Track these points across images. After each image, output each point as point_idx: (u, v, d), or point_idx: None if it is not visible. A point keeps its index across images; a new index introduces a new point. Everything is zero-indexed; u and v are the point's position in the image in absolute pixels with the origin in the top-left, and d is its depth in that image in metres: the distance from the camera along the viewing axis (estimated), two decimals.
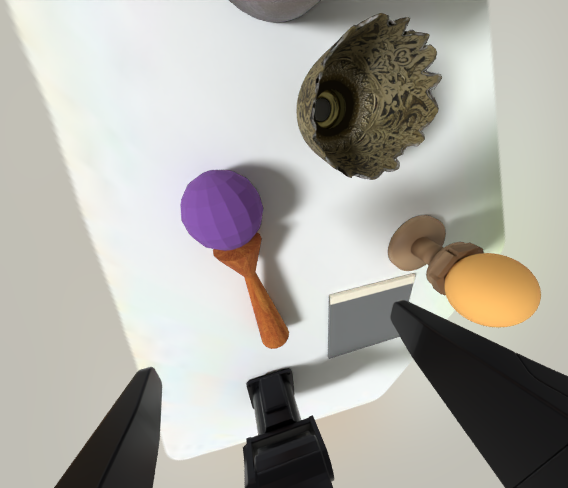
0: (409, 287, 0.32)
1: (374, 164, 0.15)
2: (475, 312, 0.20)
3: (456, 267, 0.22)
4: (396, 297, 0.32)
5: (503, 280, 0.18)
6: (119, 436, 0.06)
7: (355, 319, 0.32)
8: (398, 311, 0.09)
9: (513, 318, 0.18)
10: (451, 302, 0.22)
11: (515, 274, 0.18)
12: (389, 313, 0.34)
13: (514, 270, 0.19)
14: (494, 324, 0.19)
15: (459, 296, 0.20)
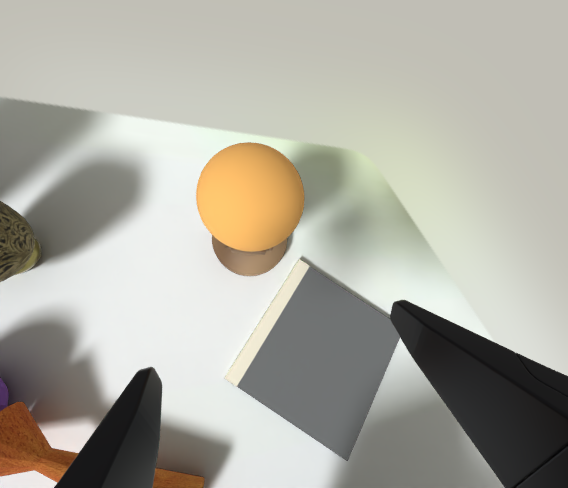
0: (314, 274, 0.23)
1: None
2: (229, 232, 0.12)
3: None
4: (314, 297, 0.22)
5: (199, 181, 0.13)
6: (119, 436, 0.06)
7: (301, 370, 0.21)
8: (398, 311, 0.09)
9: (243, 191, 0.11)
10: (238, 249, 0.14)
11: (206, 164, 0.13)
12: (337, 319, 0.22)
13: None
14: (256, 217, 0.12)
15: (217, 238, 0.14)
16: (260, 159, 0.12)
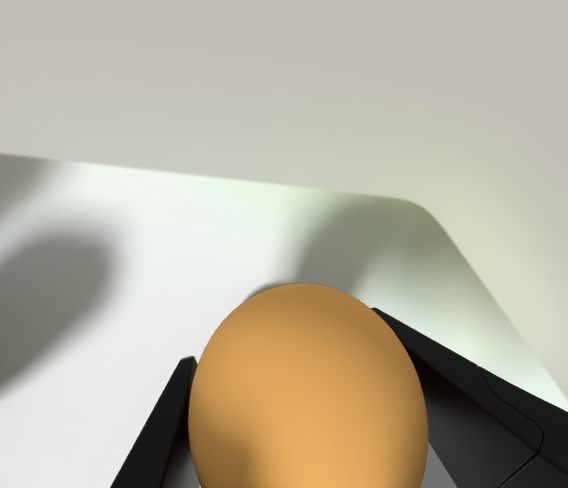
0: None
1: None
2: None
3: None
4: None
5: (194, 409, 0.05)
6: (175, 418, 0.06)
7: None
8: None
9: None
10: None
11: (209, 360, 0.06)
12: None
13: (211, 348, 0.06)
14: None
15: None
16: (356, 399, 0.04)
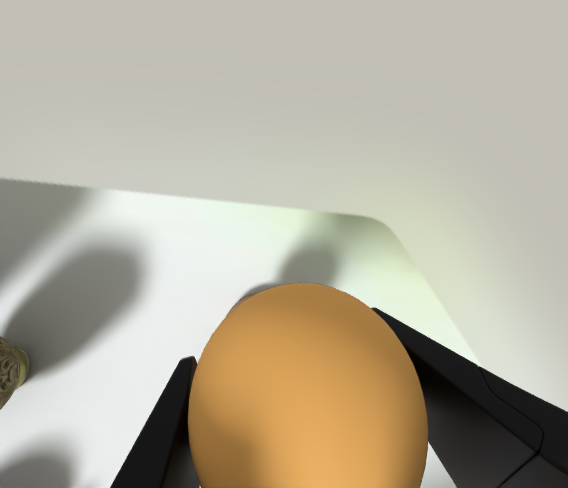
0: None
1: None
2: None
3: None
4: None
5: (193, 408, 0.05)
6: (175, 418, 0.06)
7: None
8: None
9: None
10: None
11: (209, 359, 0.06)
12: None
13: (211, 348, 0.06)
14: None
15: None
16: (356, 398, 0.04)
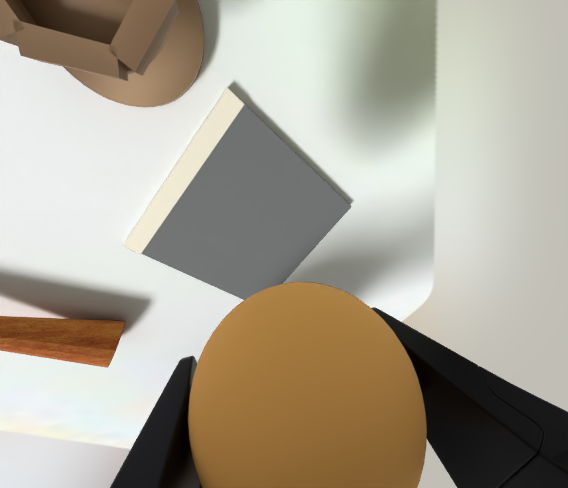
0: (250, 119, 0.14)
1: None
2: None
3: None
4: (247, 157, 0.15)
5: (194, 406, 0.05)
6: (175, 418, 0.06)
7: (221, 241, 0.18)
8: None
9: None
10: None
11: (209, 357, 0.06)
12: (274, 190, 0.17)
13: (211, 346, 0.06)
14: None
15: None
16: (355, 396, 0.04)
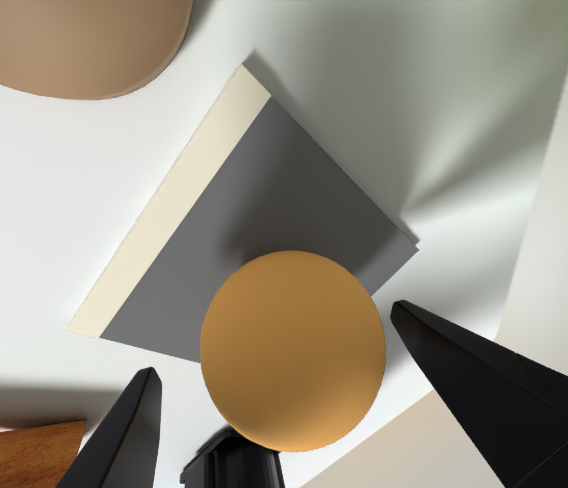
0: (280, 123, 0.08)
1: None
2: (273, 448, 0.06)
3: None
4: (271, 186, 0.09)
5: (206, 343, 0.07)
6: (119, 436, 0.06)
7: None
8: (398, 311, 0.09)
9: (306, 396, 0.06)
10: None
11: (217, 306, 0.07)
12: (311, 234, 0.11)
13: (217, 299, 0.07)
14: (329, 432, 0.06)
15: None
16: (329, 316, 0.06)
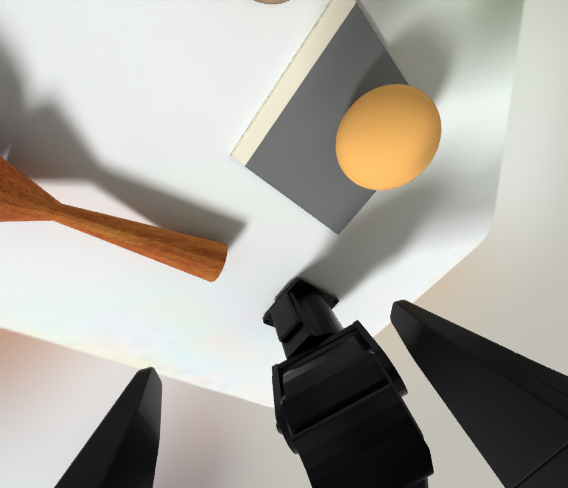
0: (358, 20, 0.15)
1: None
2: (414, 159, 0.14)
3: (347, 171, 0.16)
4: (350, 62, 0.16)
5: (372, 120, 0.13)
6: (119, 436, 0.06)
7: (315, 157, 0.18)
8: (398, 311, 0.09)
9: (430, 116, 0.13)
10: (394, 185, 0.15)
11: (367, 106, 0.14)
12: None
13: (362, 106, 0.14)
14: (436, 140, 0.14)
15: (387, 175, 0.14)
16: (422, 92, 0.14)
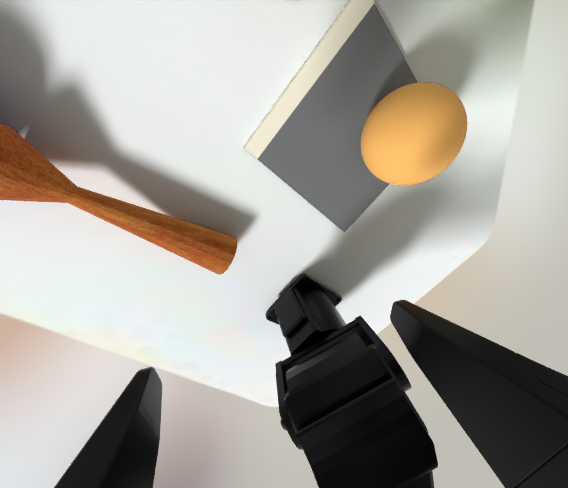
0: (375, 20, 0.15)
1: None
2: (453, 152, 0.14)
3: (383, 168, 0.16)
4: (365, 61, 0.16)
5: (420, 114, 0.13)
6: (119, 436, 0.06)
7: (326, 153, 0.19)
8: (398, 311, 0.09)
9: (465, 112, 0.14)
10: (427, 179, 0.16)
11: (410, 100, 0.14)
12: None
13: (404, 101, 0.14)
14: (465, 135, 0.15)
15: (429, 168, 0.15)
16: None
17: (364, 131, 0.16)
